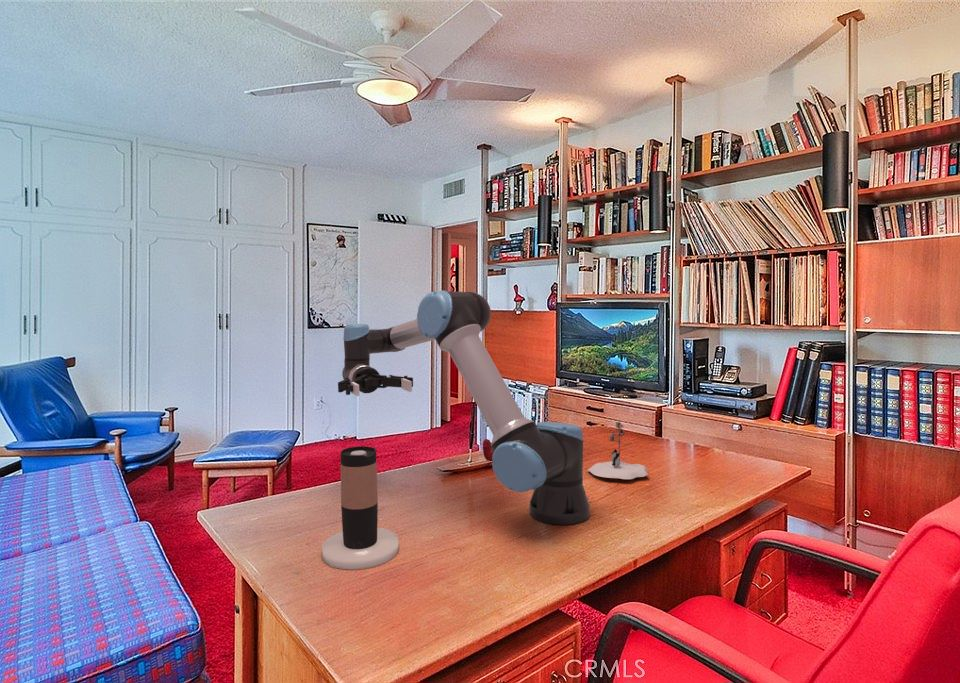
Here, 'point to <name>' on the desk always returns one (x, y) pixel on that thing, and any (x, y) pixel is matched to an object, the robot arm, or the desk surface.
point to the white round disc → (360, 551)
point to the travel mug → (359, 497)
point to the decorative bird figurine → (488, 450)
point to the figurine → (618, 464)
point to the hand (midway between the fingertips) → (384, 388)
